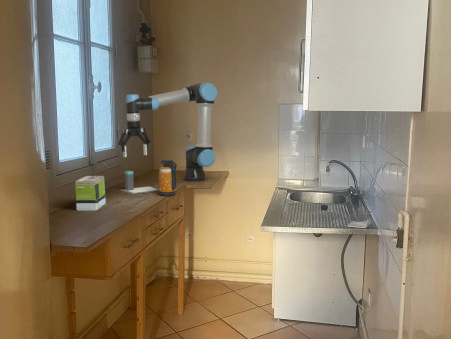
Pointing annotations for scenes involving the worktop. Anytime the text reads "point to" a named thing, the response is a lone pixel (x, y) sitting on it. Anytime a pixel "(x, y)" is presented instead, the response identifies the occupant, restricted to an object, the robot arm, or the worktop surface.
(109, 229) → the worktop surface
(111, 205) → the worktop surface
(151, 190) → the paper
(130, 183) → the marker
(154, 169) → the worktop surface
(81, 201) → the tea box
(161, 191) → the canister
